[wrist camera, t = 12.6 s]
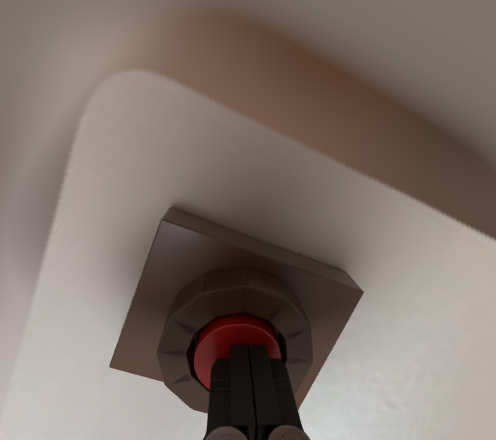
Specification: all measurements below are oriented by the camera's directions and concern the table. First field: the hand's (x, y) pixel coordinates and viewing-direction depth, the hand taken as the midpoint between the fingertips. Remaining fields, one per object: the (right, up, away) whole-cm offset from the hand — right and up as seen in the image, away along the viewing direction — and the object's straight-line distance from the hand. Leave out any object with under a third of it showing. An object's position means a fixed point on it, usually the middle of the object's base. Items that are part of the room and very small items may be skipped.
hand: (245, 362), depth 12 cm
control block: (-1, +1, +4) cm, 4 cm away
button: (0, +1, +2) cm, 2 cm away
